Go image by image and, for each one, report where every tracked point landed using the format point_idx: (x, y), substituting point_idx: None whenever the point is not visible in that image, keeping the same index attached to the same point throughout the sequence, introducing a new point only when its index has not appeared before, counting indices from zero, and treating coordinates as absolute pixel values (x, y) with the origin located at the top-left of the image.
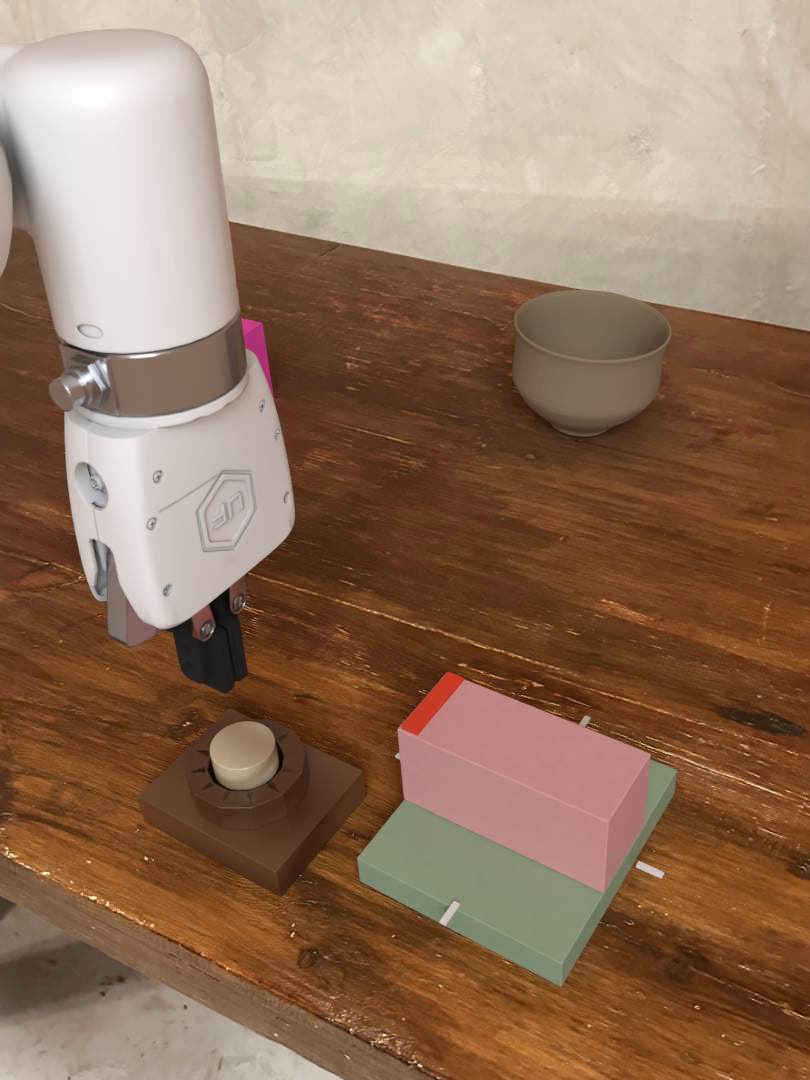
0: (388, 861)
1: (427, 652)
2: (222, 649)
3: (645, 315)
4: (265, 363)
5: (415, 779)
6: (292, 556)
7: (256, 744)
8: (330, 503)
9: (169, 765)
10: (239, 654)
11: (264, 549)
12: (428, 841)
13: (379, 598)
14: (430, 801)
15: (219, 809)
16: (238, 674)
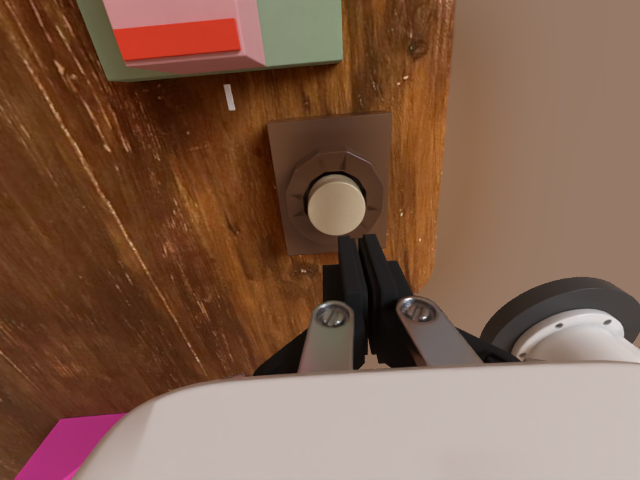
0: (330, 26)
1: (124, 182)
2: (387, 271)
3: None
4: (37, 453)
5: (256, 41)
6: (145, 321)
7: (329, 200)
8: (87, 337)
9: None
10: (350, 255)
11: (284, 405)
12: (288, 4)
13: (118, 251)
14: (257, 23)
15: (383, 185)
16: (351, 241)
